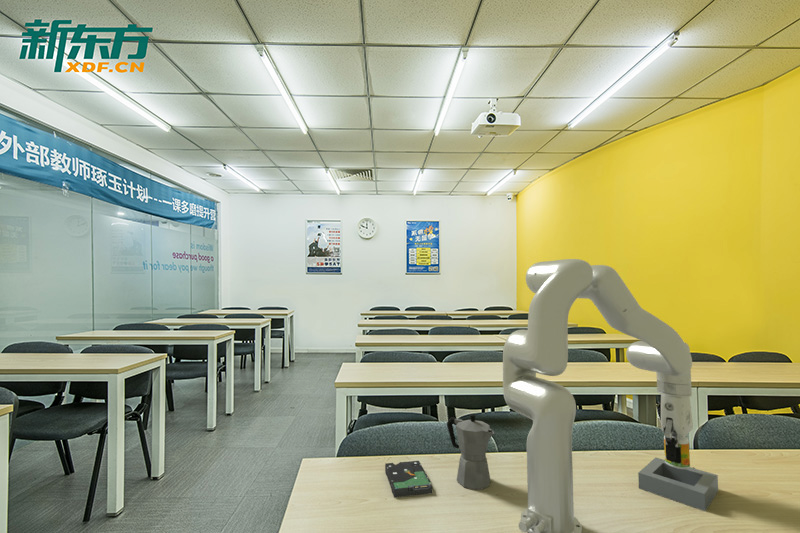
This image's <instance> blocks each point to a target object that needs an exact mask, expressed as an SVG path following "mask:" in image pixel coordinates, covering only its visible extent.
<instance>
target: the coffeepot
mask: <svg viewBox="0 0 800 533" xmlns="http://www.w3.org/2000/svg"><path fill="white" fill-rule="evenodd" d="M476 416H477V415H476V414H474V413H471V414H469V418H470V419H466V420H463V419H461V418H458V417H457V418H456V417H453V416H451V417H450V418H449V419H448V420H447V422H446V426H447V427H446V428H447V430H448V433H449V438H450V442H451V445H452V447H454V448H456V449H459V450H460V457H459V462H458V468H457V475H456V482H457V483H458V484H459V485H460V486H462V487H463V488H465V489H469V490H474V491H475V490H479V491H480V490H484V489H486V488H488V487H489V486H490V482H491V476H490V475H491V474H490V470H489V464H488V458H487V456H486V455H487V454H486V453H487V451H488V444H489V442H490V440H491V438H492V437H493V435H495V434H496V433H495V431H494V430H493V429H491V425H489V424H488V423H486V422H484V421H482V420H476ZM454 426H455V429H456V435H457V441H458V442H457V443H458V444H457V443H456V435H455V433H454Z"/></svg>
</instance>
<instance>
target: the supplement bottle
mask: <svg viewBox="0 0 800 533" xmlns="http://www.w3.org/2000/svg"><path fill="white" fill-rule="evenodd" d="M672 433H673V434H677V433H676V432H674V431H672ZM672 438H674V439H675V441H676V437H675V436H672ZM663 447H664V460H665V462H666V464H667V465H669V466H671V467H674V468H677V469H689V468H690V467H691V462H690V461H691V458H690V454H691V453H690V441H689V437H688V436H687V437H686V436H684V437H681V436H680V437H679V447H681V463H680V464H679V463H675V462H672V461H668V460H667V459H666V446H665V436H663Z"/></svg>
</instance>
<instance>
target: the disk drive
mask: <svg viewBox="0 0 800 533" xmlns="http://www.w3.org/2000/svg"><path fill="white" fill-rule="evenodd" d="M384 469H385V470H384V471H385V475H386V478H387V481H388V483H389V486H390V489H391V493H392V495H393V496H392V497H393V498H394V499H395V498H404V497H411V496H412V497H414V496H421V495H430V494H431V495H432V494H433V486H432V483H431V479H430V478H429V477H428V474H427V473H426V471H425V469H424V467H423V465H422V463H421V462H420V460H411V461H410V460H409V461H400V462H398V463H396V464H395V463H394V462H388V463H386V462H385V465H384Z"/></svg>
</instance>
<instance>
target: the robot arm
mask: <svg viewBox="0 0 800 533" xmlns="http://www.w3.org/2000/svg"><path fill="white" fill-rule="evenodd" d="M525 283H526V285H527V287H528V289H529V290H530V291H531V292H532V293H534V296H533V297H532V299H531V302H530V304H529V308H528V315H527V316H528V318H527V329H518V330H514V331H513V332H511V333H510V334H509V335H508V337H507V338H506V339H505V342H504V345H503V350H502V390H503V391H502V392H503V398H504V401H505V403H506V405H507V406H508V407H509V408H510V409H511V410H512V411H513V412H515V413H517V414H520V415H521V416H523V417H526V418H528V419H530V420H532V426H531V428H530V430H529V432H528V435H527V437H526V438H527V439H526V466H527V467H526V468H527V469H526V471H527V472H526V473H527V476H526V477H527V478H526V479H527V480H526V481H527V507H526V508H525V509H523V511H522V512H521V514H520V522H519V523H518V528H519V531H520V532H522V533H526V532H527V533H583V526H582V523H581V522H580V521H579V519H578V518H576V517H575V514H574V513H575V511H574V509H575V508H574V504H575V503H574V476H573V475H574V474H573V472H574V471H573V445H572V444H573V429H574V422H575V418H576V413H577V405H576V400H575V397H574V395H573V394H572V393H571V391H570V390H569V389H568V388H566V387H564V386H563V385H561V384H559V383H558V382H557V383H556V382H554V381H551V380H549V379H545V378H540V377H537V374H539V375H542V376H543V375H544V376H548V377H557V376H559V375H562V374H563V373H564V372H565V371H566V369H567V366H568V359H569V344H568V343H569V342H568V341H569V339H568V338H569V337H568V336H569V335H568V332H569V330H568V329H569V328H568V327H569V326H568V325H569V313H570V310H571V308H572V306H573V304H574V303H575V301H576V300H577V299H586V300H587V299H588V300H590V301H591V302H592V303H593V304H594V306H595V307H596V309H597V310H598V311H599V313H600V314H601V315H602V317H603V318H604V320H605V321H606V323H607V324H608V325H609V326H610V327H611V328H613V329H614V330H616V331H618V332H621V333H622V334H624V335H627V336H630V337H632V338H635V339H637V340H638V341H634V342H632V343H630V345H628V347H627V349H626V352H625V356H626V359H627V361H628V362H629V364H630V365H631V366H632V367H634V368H637V369H639V370H643V371H644V370H645V371H648V372H654V373H656V390H657V391H656V392H657V393H658V394H660V427H661V431H662V432H663V433H664V436H665V446H666V459H667V460H668V461H672V462H675V463H679V464H680V463H681V447H679V437H680V436H681V437H684V436H686V437H687V438H688V434H690V433H691V431H692V430H693V429H694V425H693V412H692V404H691V403H692V402H691V398H692V396H693V391H692V372H691V370H692V367H693V358H692V354H691V349H690V346H689V344H688V343H686V342H684V339H683V338H682V337H681V335H680V334H679V333H678V332H677V331H676V330H675V329H674V328H673V327H671V326H670V325H669V324H667V323H666V322H664V321H663V320H661V319H660V318H659V317H657V316H655V315H654V314H652V313H650V312H648V311H647V310H645V309H643V307H641V305H640V304H639V302H638V301H637V299H636V298H635V297H634V294H632V292H631V291H630V289H629V288H628V286H627V284H626V283H625V282H624V280H623V279H622V277H621V276H620V274H619V273H618V272H617V270H616V269H614V268H613V267H611V266H609V265H605V264H595V265H594V264H593V265H592V264H590V263H589V262H587V261H586V260H583V259H579V258H564V259H556V260H548V261H537V262H536V263H534V264H532V265H530V267H528V269H527V271H526V274H525ZM672 431H674V432H676V433H677V434H673V433H672ZM664 436H663V437H664ZM672 436H675V437H676V441H675V439H674V438H672Z"/></svg>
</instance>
